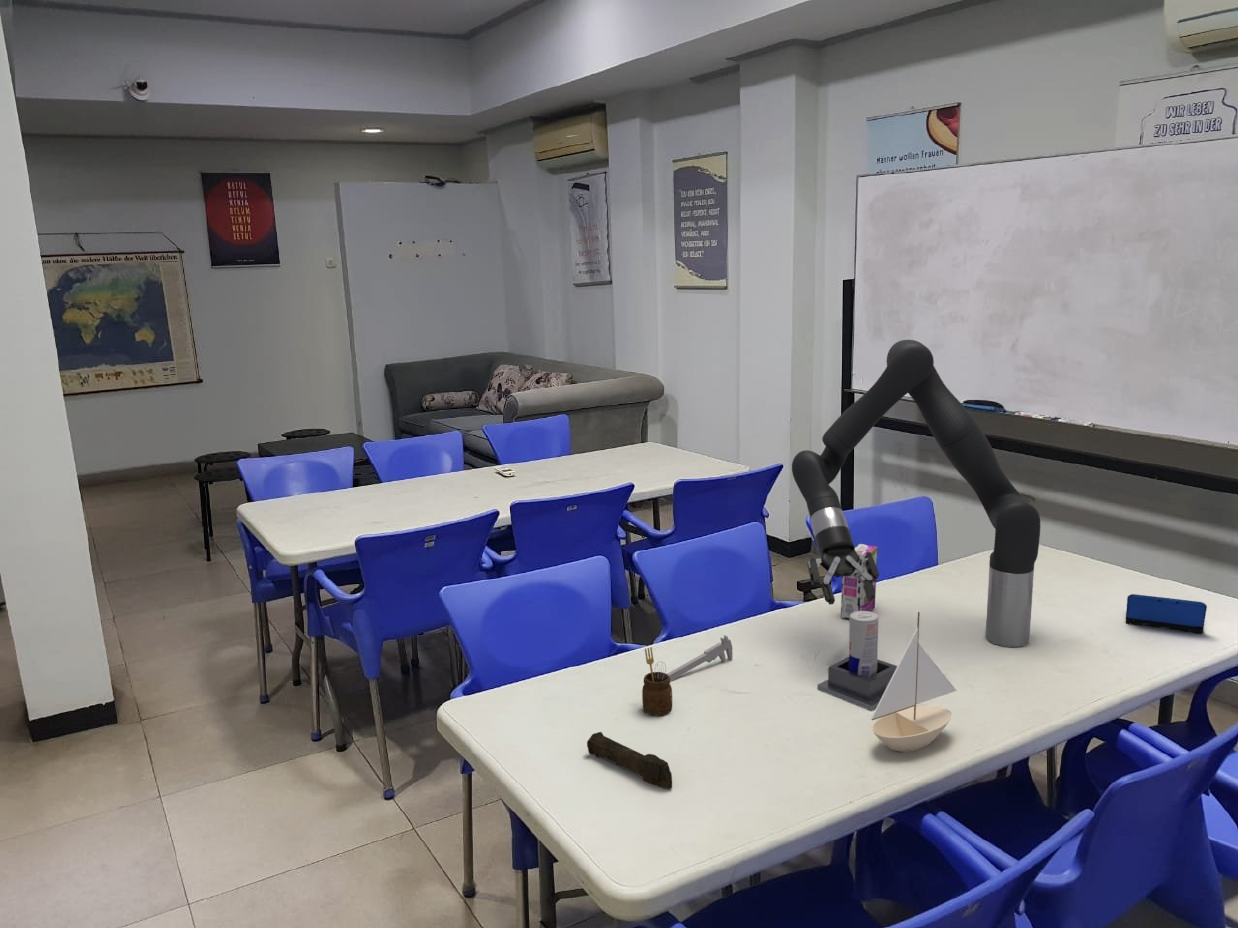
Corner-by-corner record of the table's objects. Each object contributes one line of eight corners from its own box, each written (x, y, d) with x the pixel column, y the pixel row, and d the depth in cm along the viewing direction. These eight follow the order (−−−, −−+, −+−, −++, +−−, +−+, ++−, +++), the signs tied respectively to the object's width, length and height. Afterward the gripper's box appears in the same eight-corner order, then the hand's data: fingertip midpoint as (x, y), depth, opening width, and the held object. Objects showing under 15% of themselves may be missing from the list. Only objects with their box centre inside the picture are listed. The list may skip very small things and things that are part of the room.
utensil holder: (652, 719, 180) (650, 662, 177) (636, 706, 185) (634, 650, 183) (678, 712, 182) (677, 655, 180) (662, 699, 188) (660, 644, 185)
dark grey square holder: (855, 669, 198) (855, 648, 197) (909, 689, 189) (909, 666, 188) (817, 689, 190) (817, 666, 189) (871, 710, 180) (872, 686, 179)
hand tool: (586, 756, 168) (584, 732, 167) (602, 747, 170) (601, 724, 169) (660, 798, 154) (659, 772, 153) (676, 788, 157) (676, 763, 156)
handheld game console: (1201, 621, 218) (1205, 584, 216) (1204, 642, 207) (1208, 603, 205) (1125, 611, 226) (1129, 575, 224) (1124, 630, 215) (1127, 593, 213)
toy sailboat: (894, 633, 155) (857, 616, 162) (889, 769, 160) (854, 746, 168) (981, 608, 164) (943, 593, 172) (974, 737, 169) (937, 717, 177)
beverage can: (877, 679, 191) (879, 611, 188) (875, 691, 186) (877, 621, 183) (849, 676, 193) (851, 608, 190) (847, 688, 188) (848, 618, 185)
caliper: (729, 659, 206) (729, 633, 205) (732, 661, 205) (732, 634, 204) (655, 684, 195) (655, 656, 194) (658, 686, 194) (658, 658, 193)
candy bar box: (859, 622, 224) (861, 557, 220) (840, 618, 227) (841, 554, 223) (876, 608, 232) (878, 545, 229) (857, 604, 235) (859, 542, 232)
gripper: (804, 527, 197) (824, 596, 188) (868, 521, 199) (890, 590, 190) (796, 543, 203) (814, 611, 195) (857, 538, 205) (878, 605, 197)
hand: (851, 601), depth 193 cm, fingers open, 8 cm apart
